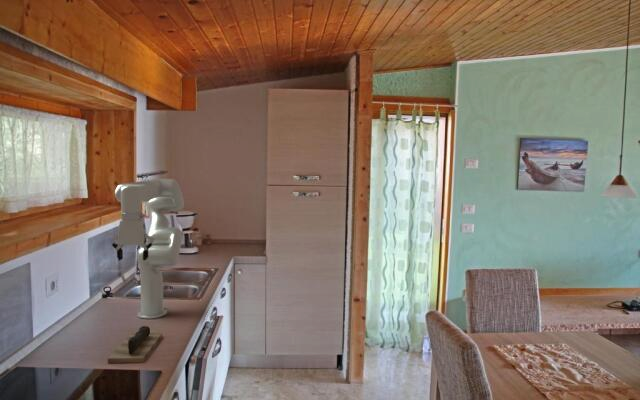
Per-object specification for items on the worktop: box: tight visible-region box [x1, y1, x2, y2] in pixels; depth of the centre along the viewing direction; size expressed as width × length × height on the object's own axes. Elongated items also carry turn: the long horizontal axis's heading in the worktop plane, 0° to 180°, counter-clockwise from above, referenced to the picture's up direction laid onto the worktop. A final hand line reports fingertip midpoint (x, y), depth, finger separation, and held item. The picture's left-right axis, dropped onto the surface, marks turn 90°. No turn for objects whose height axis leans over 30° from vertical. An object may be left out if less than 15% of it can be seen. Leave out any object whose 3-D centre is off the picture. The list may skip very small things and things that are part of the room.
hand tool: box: [128, 325, 151, 354], centre depth 176 cm, size 19×4×5 cm, turn 2°
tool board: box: [107, 332, 163, 364], centre depth 176 cm, size 24×12×2 cm, turn 3°
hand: (132, 259), depth 190 cm, fingers open, 9 cm apart
